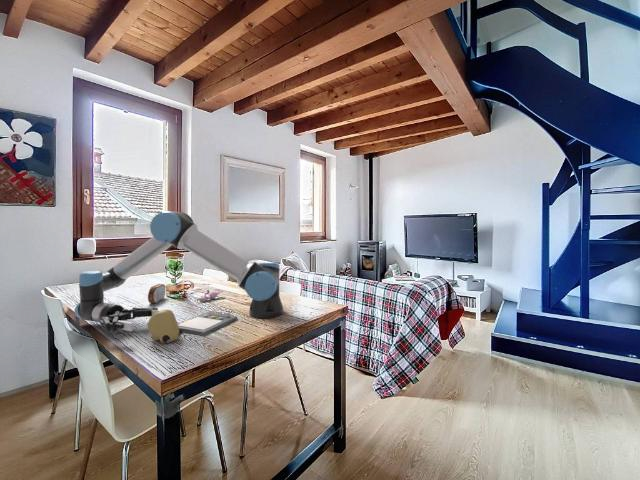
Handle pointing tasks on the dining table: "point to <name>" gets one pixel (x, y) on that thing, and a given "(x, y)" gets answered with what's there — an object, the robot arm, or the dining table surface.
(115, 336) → the dining table surface
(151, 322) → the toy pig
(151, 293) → the tin
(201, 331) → the breaker panel
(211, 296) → the rabbit figure
